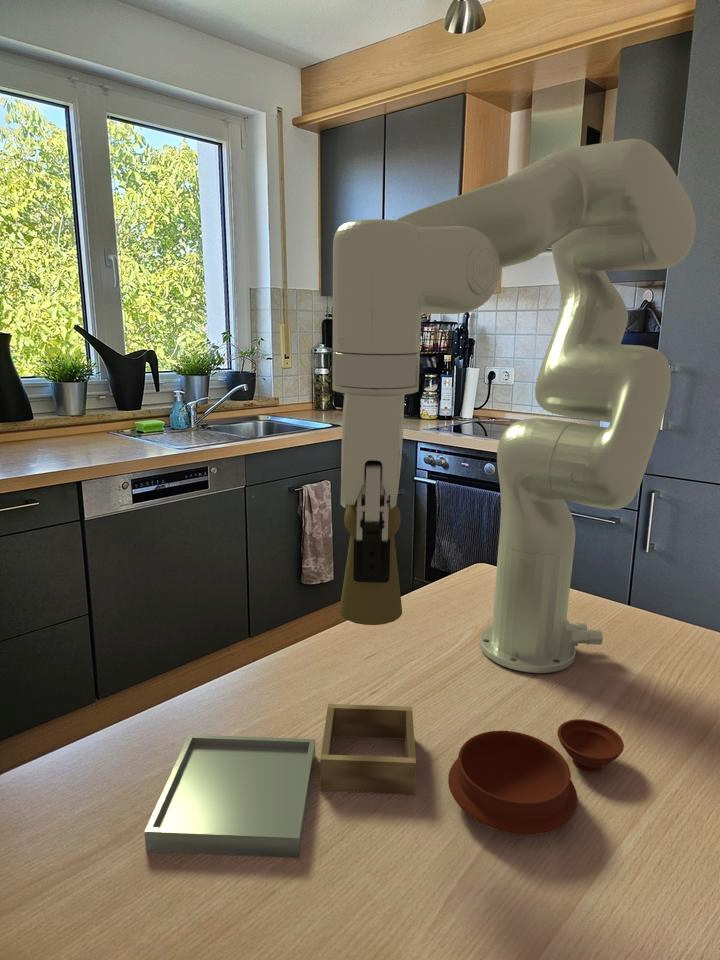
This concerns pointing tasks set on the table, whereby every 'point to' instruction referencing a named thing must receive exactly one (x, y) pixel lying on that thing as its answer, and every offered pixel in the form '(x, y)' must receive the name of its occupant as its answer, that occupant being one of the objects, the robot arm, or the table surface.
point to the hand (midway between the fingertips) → (371, 567)
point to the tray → (235, 797)
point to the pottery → (528, 775)
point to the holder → (368, 770)
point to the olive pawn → (371, 598)
